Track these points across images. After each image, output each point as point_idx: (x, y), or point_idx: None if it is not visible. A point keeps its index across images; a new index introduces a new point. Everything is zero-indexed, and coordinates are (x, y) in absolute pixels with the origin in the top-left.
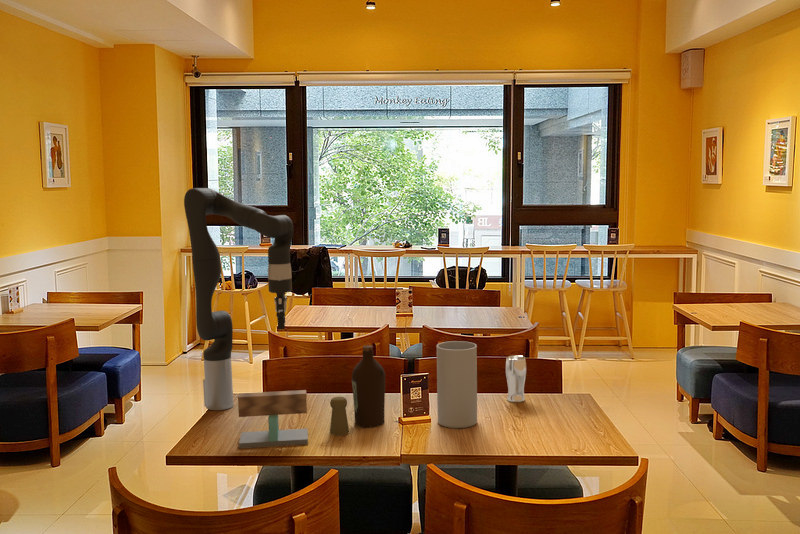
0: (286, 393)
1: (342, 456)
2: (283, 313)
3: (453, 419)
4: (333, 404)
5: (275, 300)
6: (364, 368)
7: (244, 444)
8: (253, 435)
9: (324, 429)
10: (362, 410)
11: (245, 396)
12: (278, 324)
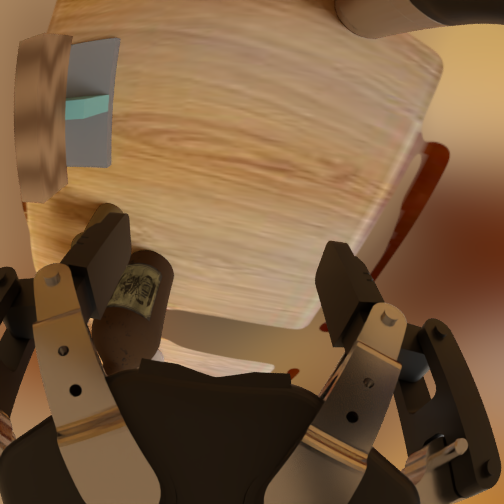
0: (23, 156)
1: (24, 209)
2: (7, 335)
3: None
4: (73, 239)
5: (74, 472)
6: (94, 342)
7: None
8: (91, 64)
9: (126, 196)
10: None
11: (19, 57)
12: (96, 233)
